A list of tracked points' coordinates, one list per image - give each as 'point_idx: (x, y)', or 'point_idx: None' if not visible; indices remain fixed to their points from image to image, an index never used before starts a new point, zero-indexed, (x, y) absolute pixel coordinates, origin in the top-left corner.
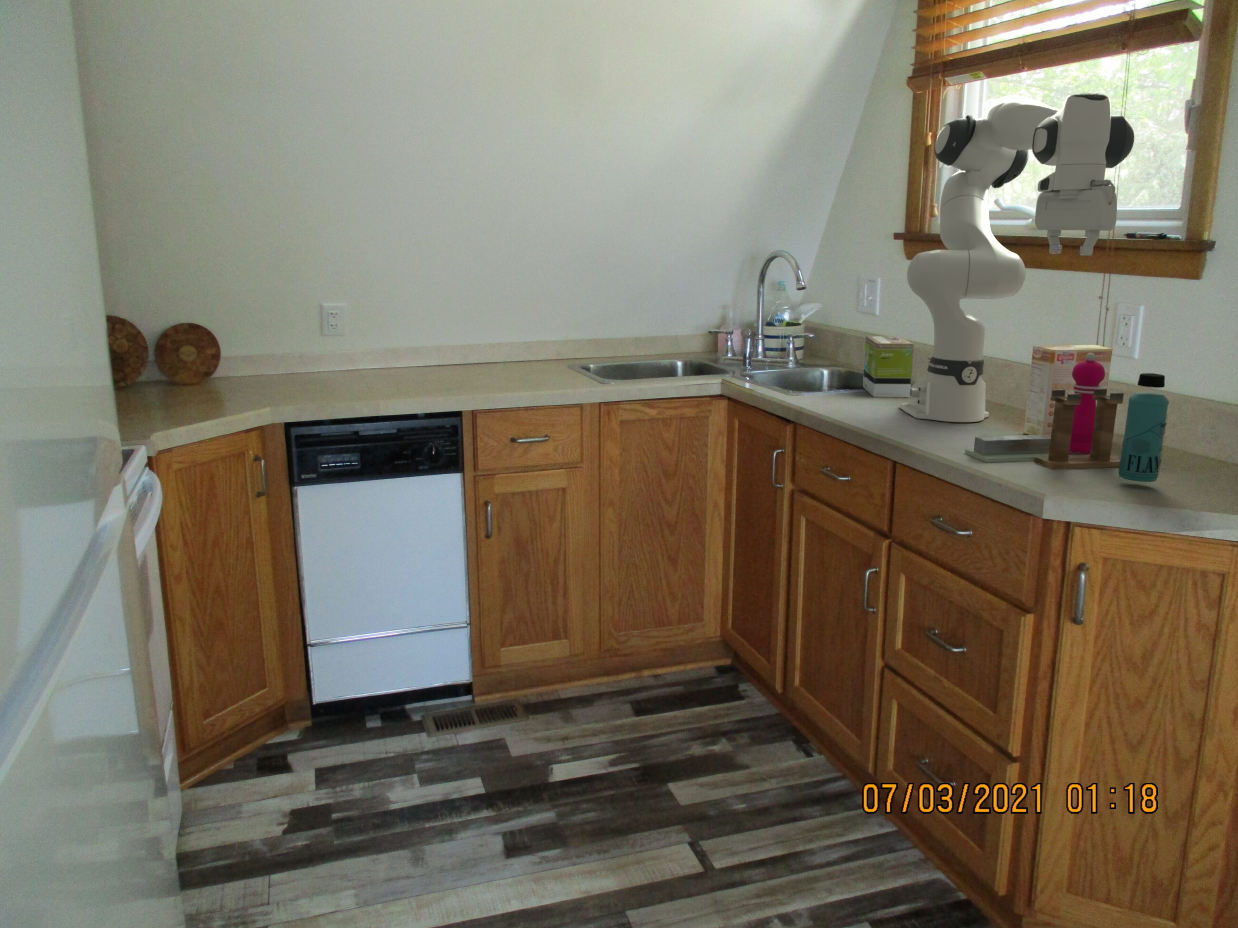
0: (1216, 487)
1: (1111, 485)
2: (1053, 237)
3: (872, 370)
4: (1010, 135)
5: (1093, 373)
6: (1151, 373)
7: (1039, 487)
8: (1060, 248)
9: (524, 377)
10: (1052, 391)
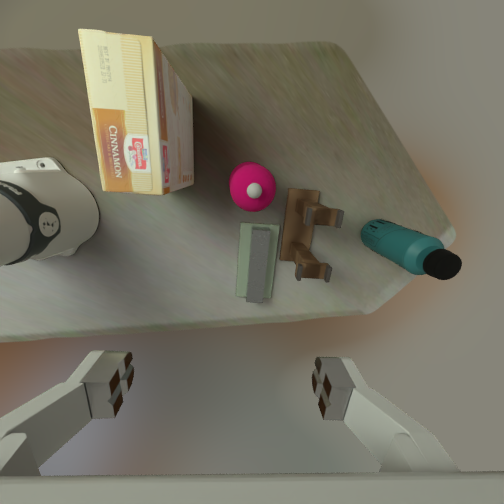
0: (403, 164)
1: (361, 249)
2: (33, 450)
3: None
4: None
5: (273, 198)
6: (447, 268)
7: (345, 303)
8: (118, 373)
9: None
10: (298, 279)
